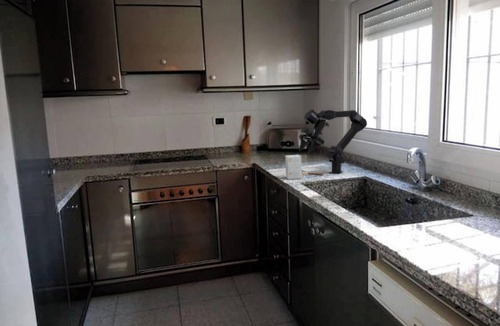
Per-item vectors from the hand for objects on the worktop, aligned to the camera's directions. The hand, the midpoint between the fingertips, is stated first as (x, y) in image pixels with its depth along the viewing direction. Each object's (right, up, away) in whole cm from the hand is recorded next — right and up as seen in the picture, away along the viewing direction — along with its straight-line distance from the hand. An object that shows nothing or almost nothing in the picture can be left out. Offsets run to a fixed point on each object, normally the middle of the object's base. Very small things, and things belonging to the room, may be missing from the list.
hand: (303, 151), depth 213 cm
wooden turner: (+4, -13, +10) cm, 17 cm away
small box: (-5, -15, +3) cm, 17 cm away
